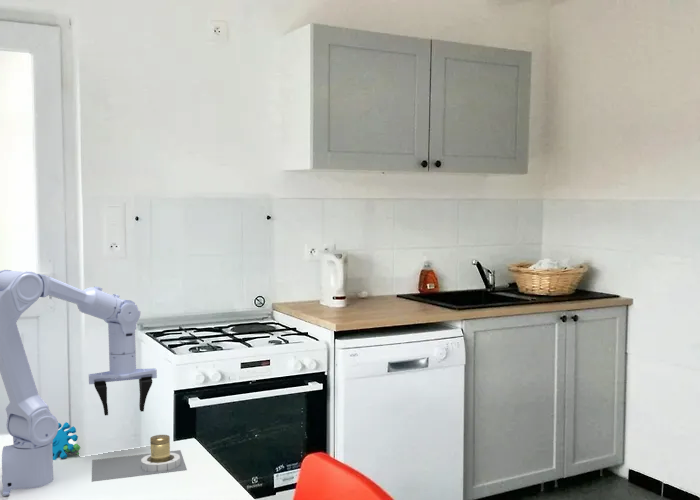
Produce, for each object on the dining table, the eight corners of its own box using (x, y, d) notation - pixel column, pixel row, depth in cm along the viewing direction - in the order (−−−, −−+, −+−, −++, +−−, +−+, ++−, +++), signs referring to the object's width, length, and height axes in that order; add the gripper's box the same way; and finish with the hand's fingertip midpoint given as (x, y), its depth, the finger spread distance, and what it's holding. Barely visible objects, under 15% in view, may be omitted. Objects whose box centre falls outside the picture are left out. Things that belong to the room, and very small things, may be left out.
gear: (23, 454, 165) (49, 416, 171) (36, 466, 169) (61, 428, 175) (61, 467, 161) (87, 427, 167) (74, 479, 165) (98, 439, 171)
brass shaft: (152, 469, 156) (151, 441, 156) (150, 463, 160) (149, 436, 160) (171, 466, 158) (170, 438, 157) (168, 460, 161) (168, 433, 161)
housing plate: (91, 486, 149) (91, 474, 149) (92, 464, 163) (92, 453, 163) (187, 474, 156) (186, 462, 155) (180, 454, 169) (180, 443, 169)
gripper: (89, 358, 159) (91, 420, 160) (157, 352, 165) (159, 413, 165) (87, 352, 166) (89, 412, 166) (153, 347, 171) (155, 405, 172)
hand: (124, 412), depth 166 cm, fingers open, 7 cm apart
